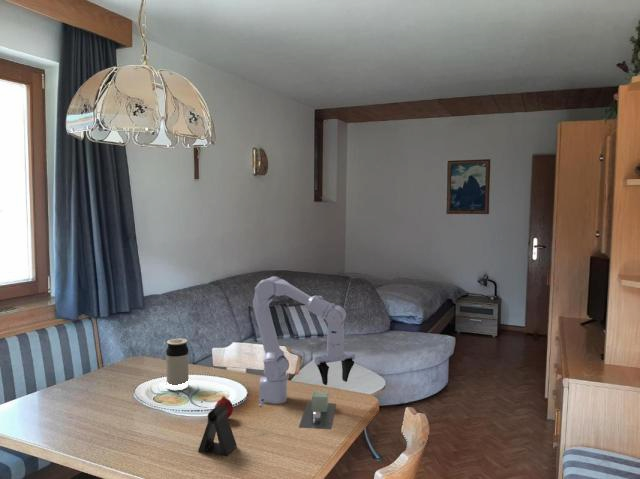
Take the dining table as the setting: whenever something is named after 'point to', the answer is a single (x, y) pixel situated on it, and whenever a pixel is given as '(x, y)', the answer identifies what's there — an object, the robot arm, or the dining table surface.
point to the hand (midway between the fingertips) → (334, 382)
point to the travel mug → (177, 361)
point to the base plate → (324, 417)
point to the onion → (227, 404)
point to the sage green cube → (320, 401)
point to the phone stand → (218, 433)
